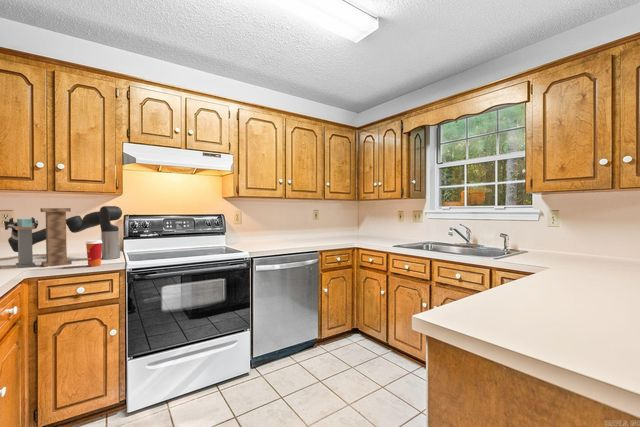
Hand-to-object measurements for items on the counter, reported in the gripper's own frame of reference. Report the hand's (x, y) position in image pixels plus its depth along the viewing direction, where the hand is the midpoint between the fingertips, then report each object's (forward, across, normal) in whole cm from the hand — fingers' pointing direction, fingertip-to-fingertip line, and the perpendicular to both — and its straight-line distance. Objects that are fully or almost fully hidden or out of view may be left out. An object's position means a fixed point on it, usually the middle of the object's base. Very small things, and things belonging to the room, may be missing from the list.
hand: (22, 218), depth 181 cm
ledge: (-6, 0, +27) cm, 27 cm away
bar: (+4, 0, +7) cm, 8 cm away
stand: (+3, +12, +32) cm, 34 cm away
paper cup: (+21, +25, +42) cm, 53 cm away
